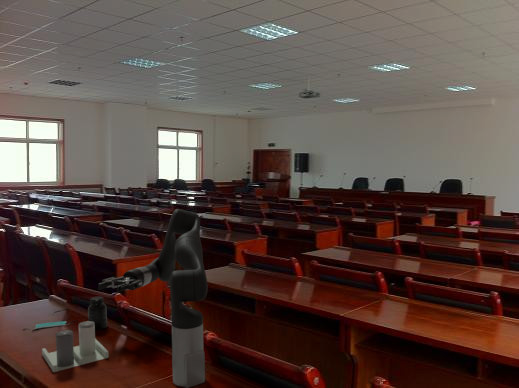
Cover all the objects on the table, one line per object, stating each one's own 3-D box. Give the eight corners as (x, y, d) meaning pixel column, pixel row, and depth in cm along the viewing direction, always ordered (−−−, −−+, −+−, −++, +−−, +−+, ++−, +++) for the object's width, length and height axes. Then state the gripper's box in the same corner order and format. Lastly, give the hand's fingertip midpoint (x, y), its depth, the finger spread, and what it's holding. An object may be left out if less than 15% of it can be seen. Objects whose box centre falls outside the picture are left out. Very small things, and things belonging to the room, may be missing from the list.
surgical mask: (71, 307, 192) (82, 312, 185) (71, 317, 192) (82, 322, 185) (19, 319, 177) (28, 326, 170) (19, 330, 177) (29, 337, 170)
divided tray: (108, 360, 149) (108, 351, 149) (53, 375, 139) (53, 365, 139) (93, 344, 162) (93, 336, 162) (42, 357, 152) (41, 348, 152)
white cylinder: (97, 353, 152) (96, 324, 152) (82, 357, 149) (81, 327, 149) (92, 348, 156) (91, 320, 156) (77, 352, 153) (76, 323, 153)
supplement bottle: (101, 323, 183) (100, 294, 183) (110, 327, 179) (109, 297, 178) (85, 328, 178) (84, 298, 177) (94, 332, 174) (93, 301, 173)
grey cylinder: (75, 364, 144) (74, 333, 144) (59, 368, 141) (57, 337, 141) (71, 358, 148) (70, 329, 148) (55, 362, 145) (54, 332, 145)
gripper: (122, 267, 179) (92, 276, 164) (152, 269, 173) (124, 279, 158) (122, 285, 179) (93, 296, 164) (152, 289, 174) (124, 300, 159)
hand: (108, 288), depth 161 cm, fingers open, 8 cm apart
